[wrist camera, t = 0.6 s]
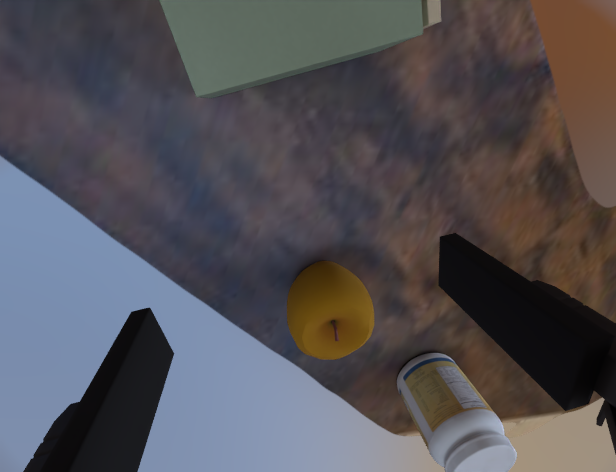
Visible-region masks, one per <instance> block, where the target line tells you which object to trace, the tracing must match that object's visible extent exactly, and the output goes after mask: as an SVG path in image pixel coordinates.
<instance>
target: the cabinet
mask: <svg viewBox="0 0 616 472" xmlns="http://www.w3.org/2000/svg"><path fill="white" fill-rule="evenodd" d="M159 1H160V4H161V6H162V9H163V11H164V14H165V17H166V19H167V22H168V24H169V27H170V30H171V32H172V35H173V37H174V40H175V43H176V45H177V48H178V51H179V53H180V56H181V58H182V61H183V64H184V66H185V69H186V71H187V74H188V77H189V79H190V82H191V84H192V87H193V90H194V92H195V95H196V97H203V98H215V97H218V96H222V95H226V94H229V93H233V92H236V91H240V90H243V89H247V88H251V87H254V86H258V85H261V84H265V83H269V82H272V81H276V80H279V79H283V78H286V77H290V76H294V75H297V74H301V73H304V72H308V71H311V70H315V69H319V68H322V67H326V66H329V65H333V64H337V63H340V62H344V61H347V60H351V59H354V58H358V57H362V56H365V55H369V54H372V53H376V52H379V51H382V50H384V49H387V48H389V47H392V46H394V45H397V44H399V43H402V42H404V41H407V40H409V39H412V38H414V37H417V36H419V35H422V34H423V22H422V5H421V0H159Z"/></svg>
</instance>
